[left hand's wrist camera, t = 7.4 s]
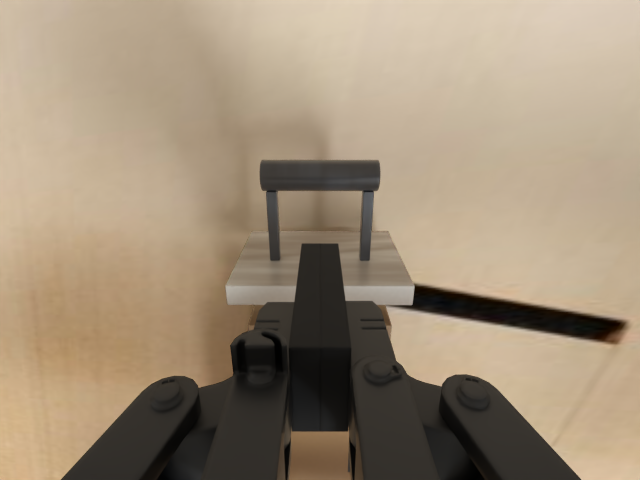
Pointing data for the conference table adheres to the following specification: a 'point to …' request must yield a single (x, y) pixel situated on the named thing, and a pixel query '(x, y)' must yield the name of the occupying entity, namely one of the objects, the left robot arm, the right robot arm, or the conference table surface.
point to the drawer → (319, 241)
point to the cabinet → (319, 455)
